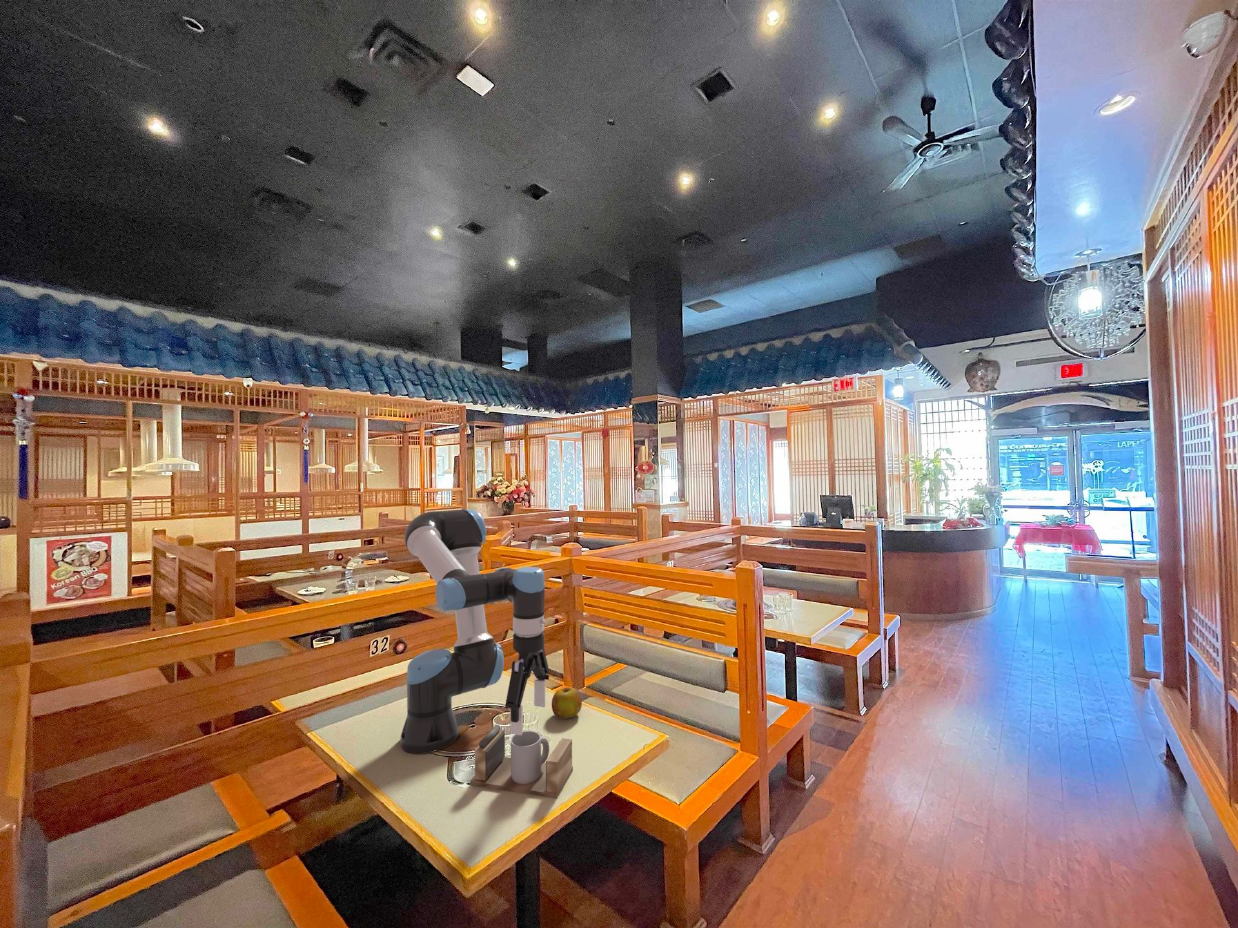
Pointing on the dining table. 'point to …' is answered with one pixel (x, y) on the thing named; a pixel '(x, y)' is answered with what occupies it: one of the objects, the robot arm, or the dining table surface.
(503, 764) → the base
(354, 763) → the dining table surface
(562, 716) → the fruit
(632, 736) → the dining table surface
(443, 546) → the robot arm
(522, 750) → the cup
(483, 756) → the block
